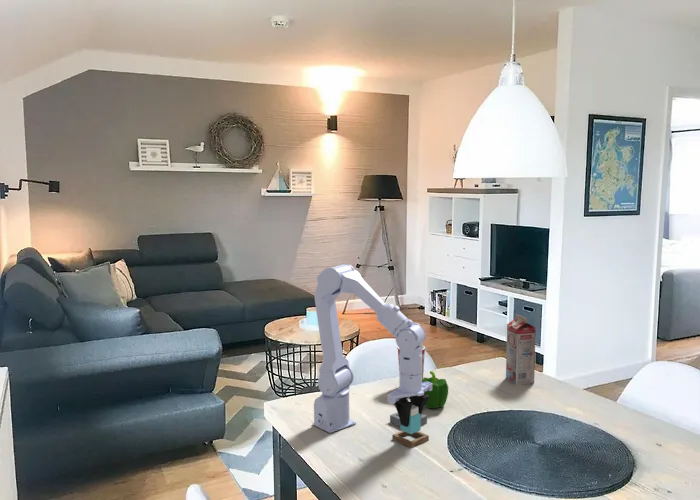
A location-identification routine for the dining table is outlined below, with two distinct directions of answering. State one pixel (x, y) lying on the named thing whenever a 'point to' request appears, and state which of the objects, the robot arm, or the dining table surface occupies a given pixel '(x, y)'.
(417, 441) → the wooden square frame
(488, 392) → the dining table surface
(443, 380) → the bell pepper
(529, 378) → the juice carton
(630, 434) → the dining table surface
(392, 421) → the port
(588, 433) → the dining table surface
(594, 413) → the dining table surface
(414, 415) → the plug
